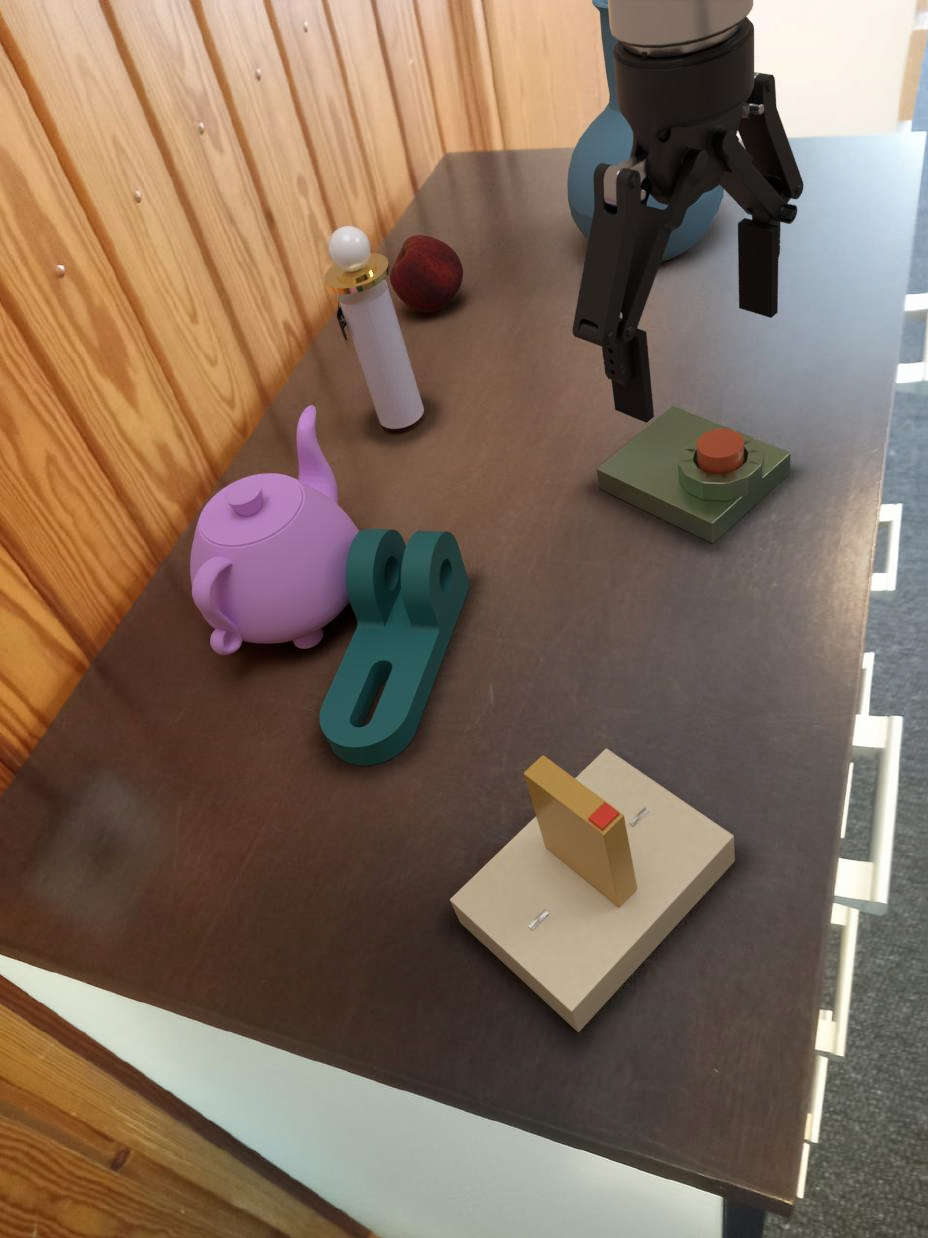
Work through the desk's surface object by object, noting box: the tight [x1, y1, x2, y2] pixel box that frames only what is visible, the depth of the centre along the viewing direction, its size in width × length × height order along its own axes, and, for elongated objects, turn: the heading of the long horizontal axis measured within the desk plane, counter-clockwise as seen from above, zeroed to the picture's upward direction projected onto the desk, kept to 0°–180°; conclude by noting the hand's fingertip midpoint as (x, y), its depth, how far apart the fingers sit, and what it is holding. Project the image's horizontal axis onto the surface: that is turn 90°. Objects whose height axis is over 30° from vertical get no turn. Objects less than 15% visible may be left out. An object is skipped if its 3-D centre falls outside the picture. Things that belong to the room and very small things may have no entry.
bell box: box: [596, 405, 792, 544], centre depth 85 cm, size 12×10×4 cm
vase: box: [566, 0, 725, 263], centre depth 105 cm, size 16×16×25 cm
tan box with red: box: [522, 754, 637, 907], centre depth 58 cm, size 6×2×8 cm, turn 42°
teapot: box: [189, 404, 360, 656], centre depth 82 cm, size 20×14×12 cm
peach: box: [389, 234, 464, 313], centre depth 111 cm, size 7×8×8 cm
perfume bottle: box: [323, 225, 425, 430], centre depth 94 cm, size 6×6×20 cm
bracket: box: [319, 528, 471, 767], centre depth 76 cm, size 18×7×8 cm, turn 164°
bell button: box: [696, 428, 744, 474], centre depth 81 cm, size 4×4×2 cm
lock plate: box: [449, 748, 736, 1033], centre depth 62 cm, size 14×10×3 cm
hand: (698, 360), depth 71 cm, fingers open, 13 cm apart
